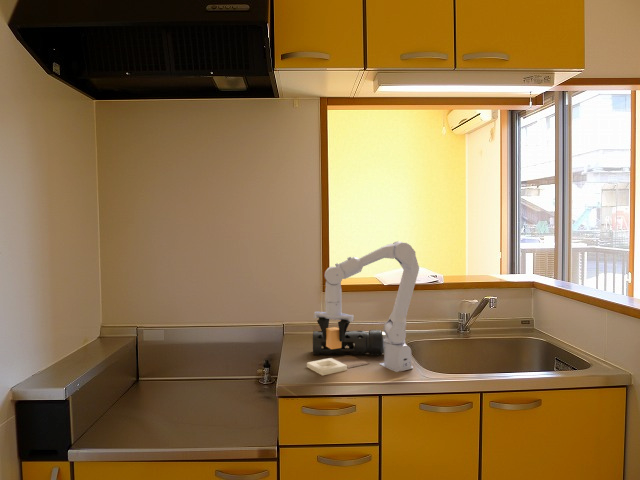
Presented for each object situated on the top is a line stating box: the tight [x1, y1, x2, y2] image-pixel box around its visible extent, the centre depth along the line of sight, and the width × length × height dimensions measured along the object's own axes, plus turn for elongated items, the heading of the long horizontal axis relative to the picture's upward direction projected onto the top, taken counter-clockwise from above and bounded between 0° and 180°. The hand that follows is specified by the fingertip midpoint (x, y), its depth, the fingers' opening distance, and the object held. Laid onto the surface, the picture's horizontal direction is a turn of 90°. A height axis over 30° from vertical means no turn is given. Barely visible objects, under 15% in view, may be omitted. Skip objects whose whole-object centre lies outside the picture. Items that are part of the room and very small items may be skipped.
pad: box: [331, 355, 370, 369], centre depth 165 cm, size 12×9×1 cm
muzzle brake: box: [312, 329, 386, 356], centre depth 175 cm, size 10×28×10 cm
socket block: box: [306, 357, 348, 376], centre depth 158 cm, size 10×10×2 cm
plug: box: [326, 326, 342, 349], centre depth 159 cm, size 4×4×6 cm
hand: (333, 339), depth 159 cm, fingers closed on plug, 6 cm apart
